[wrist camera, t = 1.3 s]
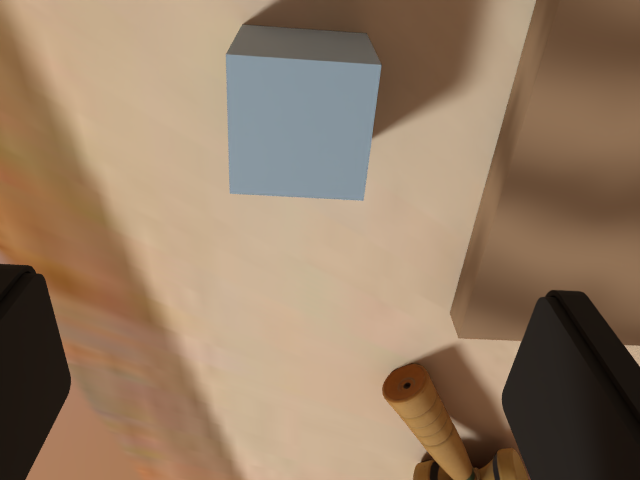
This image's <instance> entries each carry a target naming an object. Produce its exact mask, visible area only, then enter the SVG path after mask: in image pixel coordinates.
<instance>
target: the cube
mask: <svg viewBox="0 0 640 480" xmlns="http://www.w3.org/2000/svg"><path fill="white" fill-rule="evenodd" d="M380 73H381V63H380V60H379V58H378V56H377V54H376V52H375V50H374V48H373V46H372V43H371V41H370V39H369V37H368V35H367V33H354V32H340V31H327V30H313V29H299V28H285V27H271V26H257V25H243V24H242V26H241V28H240V30H239V31H238V33H237V35H236V37H235V39H234V41H233V42H232V44H231V46H230V48H229V50H228V51H227V53H226V74H227V111H228V147H229V183H230V194H248V195H267V196H286V197H305V198H324V199H343V200H362V201H363V200H364V193H365V185H366V178H367V170H368V163H369V155H370V148H371V140H372V133H373V125H374V118H375V110H376V103H377V95H378V88H379V80H380Z"/></svg>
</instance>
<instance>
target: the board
mask: <svg viewBox="0 0 640 480" xmlns="http://www.w3.org/2000/svg"><path fill="white" fill-rule="evenodd" d="M551 290H566V291H581V292H584V293H585V294H586V295H587V296H588V297H589V299H590V300H591V301H592V303H593V304H594V306H595V307H596V308H597V310H598V311H599V312H600V314H601V315H602V316H603V318H604V319H605V320H606V322H607V323H608V325H609V326H610V327H611V329H612V330H613V331H614V333H615V334H616V335H617V337H618V338H619V339H620V341H621V342H622V343H623V345H639V346H640V0H536V4H535V8H534V11H533V15H532V18H531V22H530V26H529V29H528V33H527V36H526V40H525V44H524V47H523V51H522V54H521V58H520V62H519V65H518V69H517V73H516V76H515V80H514V83H513V87H512V91H511V94H510V98H509V101H508V105H507V109H506V112H505V116H504V120H503V123H502V127H501V130H500V134H499V138H498V141H497V145H496V148H495V152H494V156H493V159H492V163H491V166H490V170H489V174H488V177H487V181H486V185H485V188H484V192H483V195H482V199H481V203H480V206H479V210H478V213H477V217H476V221H475V224H474V228H473V231H472V235H471V239H470V242H469V246H468V250H467V253H466V257H465V260H464V264H463V268H462V271H461V275H460V278H459V282H458V286H457V289H456V293H455V297H454V300H453V304H452V307H451V311H450V315H451V318H452V321H453V324H454V327H455V329H456V332H457V335H458V338H464V339H489V340H514V341H522V339H523V336H524V334H525V331H526V328H527V326H528V323H529V321H530V318H531V315H532V313H533V310H534V307H535V305H536V302H537V300H538V299H539V298H540V297H545V296H546V294H547V293H548V292H549V291H551Z"/></svg>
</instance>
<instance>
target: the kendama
mask: <svg viewBox="0 0 640 480" xmlns="http://www.w3.org/2000/svg"><path fill="white" fill-rule="evenodd" d="M382 391H383V396H384V398H385V399H386V401H387V402H388V403H389V404H390V405H391V406H392V408H393V409H394V410H395V411H396V412H397V413H398V414H399V416H400V417H401V418H402V419H403V421H404V422H405V423H406V424H407V426H408V427H409V428H410V430H411V431H412V432H413V433H414V435H415V436H416V437H417V439H418V440H419V441H420V442H421V444H422V445H423V446H424V448H425V449H426V450H427V451H428V453H429V454H430V455H431V456H432V457H433V459H434V460H430V461H426V462H422V463H419V464H417V465H416V467H415V470H414V475H413V480H529V479H528V476H527V473H526V470H525V468H524V465H523V463H522V461H521V458H520V456H519V454H518V453H517V452H516V450H514V449H513V448H505V449H499V450H498V452H497V453H496V454H495V456H494V457H493V459H492V460H491V461H490V462H489V463H488V464H487V465H486V466H484V467H483V468H481V469H478V468H476V467H475V468H473V467H472V465H471V462H470V460H469V457H468V454H467V452H466V449H465V447H464V445H463V443H462V440H461V438H460V436H459V434H458V432H457V430H456V428H455V426H454V424H453V423H452V421H451V419H450V417H449V415H448V413H447V411H446V409H445V407H444V405H443V403H442V401H441V399H440V397H439V395H438V393H437V392H436V390H435V387H434V385H433V383H432V381H431V378H430V376H429V374H428V372H427V371H426V369H425V368H424V367H422V366H421V365H418V364H409V365H406V366H403V367H400V368H398V369H396V370H395V371H393V372H392V373H391V374H390V375H389V376H388V377H387V378H386V380H385V382H384V384H383V388H382Z"/></svg>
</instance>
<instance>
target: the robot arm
mask: <svg viewBox="0 0 640 480" xmlns="http://www.w3.org/2000/svg"><path fill="white" fill-rule="evenodd" d="M70 385H71V376H70V372H69V368H68V364H67V360H66V357H65V353H64V349H63V345H62V342H61V338H60V334H59V330H58V326H57V323H56V319H55V315H54V311H53V307H52V304H51V300H50V296H49V292H48V288H47V285H46V281H45V278H44V276H43V275H42V274H36V272H35V270H34V269H33V267H32V266H29V265H10V264H0V480H25V479H26V477H27V475H28V473H29V471H30V469H31V467H32V465H33V463H34V461H35V459H36V457H37V455H38V454H39V452H40V450H41V448H42V446H43V444H44V442H45V440H46V438H47V436H48V434H49V432H50V430H51V428H52V426H53V424H54V422H55V420H56V418H57V416H58V414H59V412H60V410H61V408H62V406H63V404H64V402H65V400H66V398H67V396H68V393H69V390H70ZM502 406H503V410H504V413H505V415H506V418H507V420H508V423H509V425H510V428H511V430H512V433H513V435H514V438H515V440H516V443H517V445H518V448H519V450H520V453H521V455H522V458H523V460H524V463H525V465H526V468H527V471H528V473H529V476H530V478H531V480H640V366H639V365H638V364H637V362H636V361H635V360H634V358H633V357H632V356H631V354H630V353H629V352H628V350H627V349H626V348H625V346H624V345H623V343H622V342H621V341H620V339H619V338H618V337H617V335H616V334H615V333H614V331H613V330H612V329H611V327H610V326H609V325H608V323H607V322H606V320H605V319H604V318H603V316H602V315H601V314H600V312H599V311H598V310H597V308H596V307H595V306H594V304H593V303H592V301H591V300H590V299H589V297H588V296H587V295H586V294H585V293H584V292H581V291H566V290H551V291H549V292H548V293H547V294H546V296H545V297H540V298H539V299H538V300H537V302H536V305H535V307H534V310H533V313H532V315H531V318H530V321H529V323H528V326H527V328H526V331H525V334H524V336H523V339H522V342H521V344H520V347H519V350H518V352H517V355H516V358H515V360H514V363H513V365H512V368H511V371H510V373H509V376H508V379H507V381H506V384H505V387H504V389H503V393H502Z"/></svg>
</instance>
